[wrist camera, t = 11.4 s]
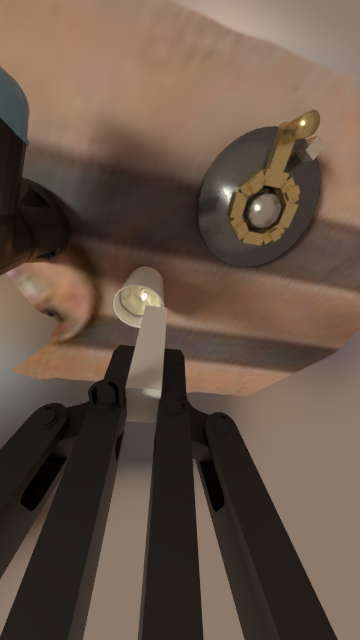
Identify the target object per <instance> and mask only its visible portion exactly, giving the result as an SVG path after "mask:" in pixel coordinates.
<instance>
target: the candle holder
mask: <svg viewBox="0 0 360 640" xmlns="http://www.w3.org/2000/svg"><path fill="white" fill-rule="evenodd" d="M113 306H114V310H115V313H116V314H117V316H118V317H119V318H120V319H121V320H122V321H123V322H124V323H126V324H128V325H130V326H133V327H138V328H140V326H141V322H142V318H143V314H144V310H145V306H155V307H164V283H163V279H162V276H161V275H160V273H159V272H158V271H157V270H155V269H154V268H151V267H147V266H143V267H139V268H137V269H135V270H134V271H133V272H132V273H131V274H130V276H129V277H128V278H127V280H126V281H125V283H124V284H123V286H122V287H121V289H120V290H119V291H118V292H117V294H116V295H115V298H114V302H113Z"/></svg>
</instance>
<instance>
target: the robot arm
mask: <svg viewBox="0 0 360 640" xmlns="http://www.w3.org/2000/svg"><path fill="white" fill-rule="evenodd" d="M28 119H29V105H28V101H27V98H26V96H25V94H24V92H23V90H22V89H21V87H20V86H19V84H18V83H17V82H16V81H15V80H14V79H13V78H12V77H11V76H10V75H9V74H8V73H7V72H6V71H5V70H4V69H3V68H2V67H1V66H0V275H2V274H4V273H6V272H8V271H10V270H12V269H14V268H16V267H18V266H20V265H21V264H23V263H37V262H46V261H50V260H52V259H54V258H56V257H57V256H59V255H60V254H62V253H63V252H64V250H65V249H66V247H67V244H68V241H69V228H68V224H67V221H66V218H65V215H64V213H63V211H62V210H61V208H60V206H59V205H58V203H57V202H56V201H55V200H54V198H53V197H52V196H51V195H50V194H49V193H48V192H47V191H45V190H44V189H43V188H42V187H40V186H39V185H38V184H36V183H34V182H32V181H30V180H28V179H26V178H23V177H22V173H23V166H24V159H25V151H26V145H27V146H28V145H29V141H28V139H27V131H28ZM166 317H167V308H164V307H155V306H145V310H144V314H143V318H142V322H141V326H140V330H139V334H138V338H137V342H136V346H126V345H120V346H119V347H118V348H117V349H116V350H115V351H114V352H113V355H112V358H111V361H110V363H109V366H108V369H107V371H106V374H105V377H104V379H103V380H100V381H98V382H96V383H95V384H93V385H92V386H91V387H90V389H89V390H88V395H89V400H90V401H88V402H86V403H83V404H80V405H76V406H72V407H68V408H66V407H65V406H63V405H62V404H59V403H51V404H47V405H45V406H43V407H41V408H39V409H38V410H36V411H35V412H34V413H33V414H32V415H31V416H30V417H29V418H28V419H27V420H26V421H25V423H24V424H23V425H22V426H21V427H20V428H19V429H18V430H17V432H16V433H15V434H14V435H13V436H12V437H11V438H10V439H9V440H8V441H7V443H6V444H5V445H4V446H3V447H2V448H1V449H0V578H1V577H2V575H3V574H4V572H5V570H6V568H7V567H8V565H9V563H10V562H11V560H12V558H13V557H14V555H15V553H16V552H17V550H18V548H19V547H20V545H21V543H22V542H23V540H24V538H25V537H26V535H27V533H28V532H29V530H30V528H31V527H32V525H33V523H34V522H35V520H36V518H37V516H38V515H39V513H40V512H41V510H42V508H43V507H44V505H45V503H46V501H47V500H48V498H49V496H50V495H51V493H52V491H53V490H54V488H55V486H56V484H57V483H58V481H59V480H60V478H61V476H62V475H63V476H62V478H61V481H60V483H59V486H58V489H57V491H56V494H55V496H54V499H53V502H52V504H51V507H50V510H49V512H48V515H47V517H46V520H45V523H44V525H43V527H42V530H41V533H40V535H39V538H38V540H37V543H36V546H35V548H34V551H33V553H32V556H31V559H30V561H29V564H28V567H27V569H26V572H25V574H24V577H23V579H22V582H21V585H20V587H19V590H18V592H17V595H16V598H15V600H14V603H13V605H12V608H11V610H10V613H9V616H8V618H7V621H6V623H5V626H4V629H3V631H2V634H1V636H0V640H83V636H84V631H85V626H86V621H87V616H88V611H89V606H90V601H91V595H92V591H93V586H94V581H95V576H96V571H97V566H98V561H99V556H100V552H101V546H102V541H103V536H104V532H105V527H106V521H107V517H108V512H109V507H110V502H111V497H112V492H113V487H114V482H115V477H116V472H117V467H118V462H119V457H120V453H121V448H122V443H123V438H124V427H125V422H126V421H133V422H153V423H156V432H155V438H154V452H153V464H152V476H151V488H150V501H149V513H148V525H147V537H146V548H145V560H144V573H143V584H142V596H141V608H140V621H139V632H138V640H203V626H202V609H201V592H200V577H199V576H200V575H199V559H198V543H197V526H196V510H195V493H194V477H193V460H192V458H194V459H195V460H196V464H197V467H198V471H199V474H200V478H201V482H202V485H203V489H204V493H205V496H206V500H207V504H208V507H209V511H210V515H211V518H212V522H213V526H214V529H215V533H216V537H217V540H218V544H219V548H220V551H221V555H222V559H223V562H224V566H225V569H226V573H227V577H228V581H229V584H230V588H231V591H232V595H233V599H234V602H235V606H236V609H237V613H238V617H239V621H240V624H241V628H242V632H243V635H244V639H245V640H337V637H336V635H335V633H334V631H333V629H332V627H331V625H330V623H329V621H328V618H327V617H326V614H325V612H324V610H323V608H322V606H321V604H320V602H319V600H318V597H317V595H316V593H315V591H314V589H313V587H312V585H311V582H310V581H309V578H308V576H307V574H306V572H305V570H304V568H303V566H302V564H301V561H300V559H299V557H298V555H297V553H296V551H295V549H294V547H293V545H292V542H291V540H290V538H289V536H288V534H287V532H286V530H285V528H284V525H283V524H282V521H281V519H280V517H279V515H278V513H277V511H276V509H275V506H274V504H273V502H272V500H271V498H270V496H269V494H268V492H267V490H266V488H265V485H264V484H263V481H262V479H261V477H260V475H259V473H258V471H257V468H256V466H255V464H254V462H253V460H252V458H251V456H250V454H249V452H248V449H247V447H246V445H245V443H244V441H243V439H242V437H241V435H240V433H239V430H238V428H237V426H236V424H235V423H234V421H233V420H232V419H231V418H230V417H229V416H228V415H226V414H224V413H221V412H215V413H213V414H211V415H208V414H205V413H203V412H200V411H198V410H196V409H195V408H193V407H192V406H191V404H190V403H189V402H188V399H187V396H186V380H185V361H184V355H183V354H182V352H181V350H175V349H164V347H165V332H166Z"/></svg>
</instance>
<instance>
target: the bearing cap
mask: <svg viewBox="0 0 360 640" xmlns="http://www.w3.org/2000/svg"><path fill="white" fill-rule="evenodd" d="M278 128H279V127H276V126H274V127H264V128H260V129H256V130H253V131H251V132H249V133H246V134H245V135H243V136H241V137H240V138H238V139H237V140H235V141H234V142H233V143H231V144H230V145H229V146H228V147H226V148H225V149H224V150H223V151H222V152H221V153H220V154H219V155H218V156H217V158H216V159H215V160H214V162H213V163H212V164H211V166H210V168H209V169H208V171H207V173H206V175H205V177H204V179H203V182H202V185H201V188H200V191H199V196H198V202H197V220H198V225H199V230H200V232H201V235H202V237H203V239H204V241H205V243H206V245H207V246H208V248H209V249H210V251H211V252H212V253H213V254H214V255H215V256H216V257H218V258H219V259H220V260H222V261H224V262H226V263H228V264H231V265H235V266H241V267H249V266H256V265H260V264H264V263H266V262H269V261H271V260H273V259H275V258H276V257H278V256H280V255H281V254H282V253H284V252H285V251H286V250H288V249H289V248H290V247H291V246H292V245H293V244H294V243H295V242H296V241H297V240H298V238H299V237H300V236H301V235H302V233H303V232H304V230H305V229H306V227H307V226H308V224H309V222H310V220H311V218H312V216H313V214H314V211H315V209H316V205H317V202H318V198H319V193H320V183H321V181H320V169H319V163H318V160H317V155H318V154H319V153H320V152H321V151H322V150H323V148H324V147H325V145H324V144H323V142H322V141H321V139H320V138H319V136H315V137H312V138H309V139H306V140H305V139H301V140H298V141H296V142H295V143H294V146H293V148H292V151H291V154H290V156H289V159H288V162H287V164H286V167H285V169H284V173H289V176H288V177H293V180H294V183H295V185H298V186H299V189H300V194H299V195H298V197H299V200H298V201H296V202H295V203H293V204H298V207H297V210H296V212H295V214H294V216H293V219H292V221H291V223H290V225H289V228H284V227H283V228H284V231H285V232H284V233H283V234H281V238H279V239H278V240H276V241H275V242H273V241H270V242H269V243H267V244H266V245H265V244H264V243H262V245H261V246H260V245H255V244H249V243H243V242H241V241H240V240H239V239H238V238H236V237H235V235H234V233H233V231H232V229H231V227H230V225H229V223H228V221H227V219H228V218H230V217H228V216H227V215H226V214H227V211H228V207H229V203H230V199H231V196H232V192H237V189H236V186H238V185H239V184H240V183H241V182H243V181H244V180H245V179H246V178H248V177H249V176H250V175H252V174H253V173H254V172H255V171H260V170H263V169H265V167H266V164H267V161H268V158H269V155H270V152H271V149H272V146H273V143H274V140H275V137H276V134H277V131H278ZM280 210H281V203H280V200H279V199H278V197H277V196H276V194H275V191H274V189H273V188H270V187H265V186H262V188H261V189H260V190H259V191H257V192H256V193H255V194H252V195H250V196H249V197H248V198H247V201H246V205H245V208H244V211H243V214H242V218H243V221H244V222H245V223H246V225H247V227H248V229H250V230H256V231H258V230H260V229H261V228H264V227H267V226H269V225H271V224H272V223H274V222H275V220H276V219H277V218H278V216H279V213H280Z"/></svg>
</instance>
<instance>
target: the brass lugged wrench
mask: <svg viewBox="0 0 360 640" xmlns="http://www.w3.org/2000/svg"><path fill="white" fill-rule="evenodd" d="M319 123H320V115H319V113H318V112H317V111H316V110H311V111H309V112H307V113H305V114H303V115H302V116H300V117H298V118H296V119H294V120H293V121H291V122H284V123H282V124H280V125H279V128H278V131H277V134H276V137H275V140H274V143H273V146H272V149H271V152H270V155H269V158H268V161H267V164H266V167H265V169H263V170H260V171H255V172H254V173H253V174H252V175H250V176H249V177H248V178H246V179H245V180H244V181H243V182H241V183H240V184H239V185H238V186H236V189H237V192H232V196H231V199H230V203H229V207H228V211H227V214H226V215H227V216H228V217H230V218H228V219H227V221H228V223H229V225H230V227H231V229H232V231H233V233H234V235H235V237H236V238H238V239H239V240H240V241H241V242H243V243H249V244H255V245H260V246H261V245H262V243H264V244H265V245H266V244H267V243H269V242H270V241H273V242H275V241H276V240H278V239H279V238H281V234H283V233H284V232H285V231H284V228H289V225H290V223H291V221H292V219H293V216H294V214H295V212H296V210H297V207H298V204H293V203H295V202H296V201H298V200H299V197H298V195H299V194H300V189H299V186H298V185H295V183H294V180H293V177H288V176H289V173H284V169H285V167H286V164H287V162H288V159H289V156H290V154H291V151H292V148H293V146H294V143H295V142H296V141H298V140H301V139H304V138H307V137H309V136H311V135H312V134H314V133H315V131H316V130H317V128H318V126H319ZM262 186H265V187H270V188H273V189H274V191H275V194H276V196H277V197H278V199H279V200H280V203H281V210H280V213H279V216H278V218H277V219H276V220H275V222H274V223H272V224H271V225H269V226H267V227H264V228H261V229H260V230H258V231H256V230H250V229H248V227H247V225H246V223H245V222H244V221H243V218H242V214H243V211H244V208H245V205H246V201H247V198H248V197H249V196H250V195H252V194H255V193H256V192H257V191H259V190H260V189H261V188H262ZM283 227H284V228H283Z"/></svg>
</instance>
